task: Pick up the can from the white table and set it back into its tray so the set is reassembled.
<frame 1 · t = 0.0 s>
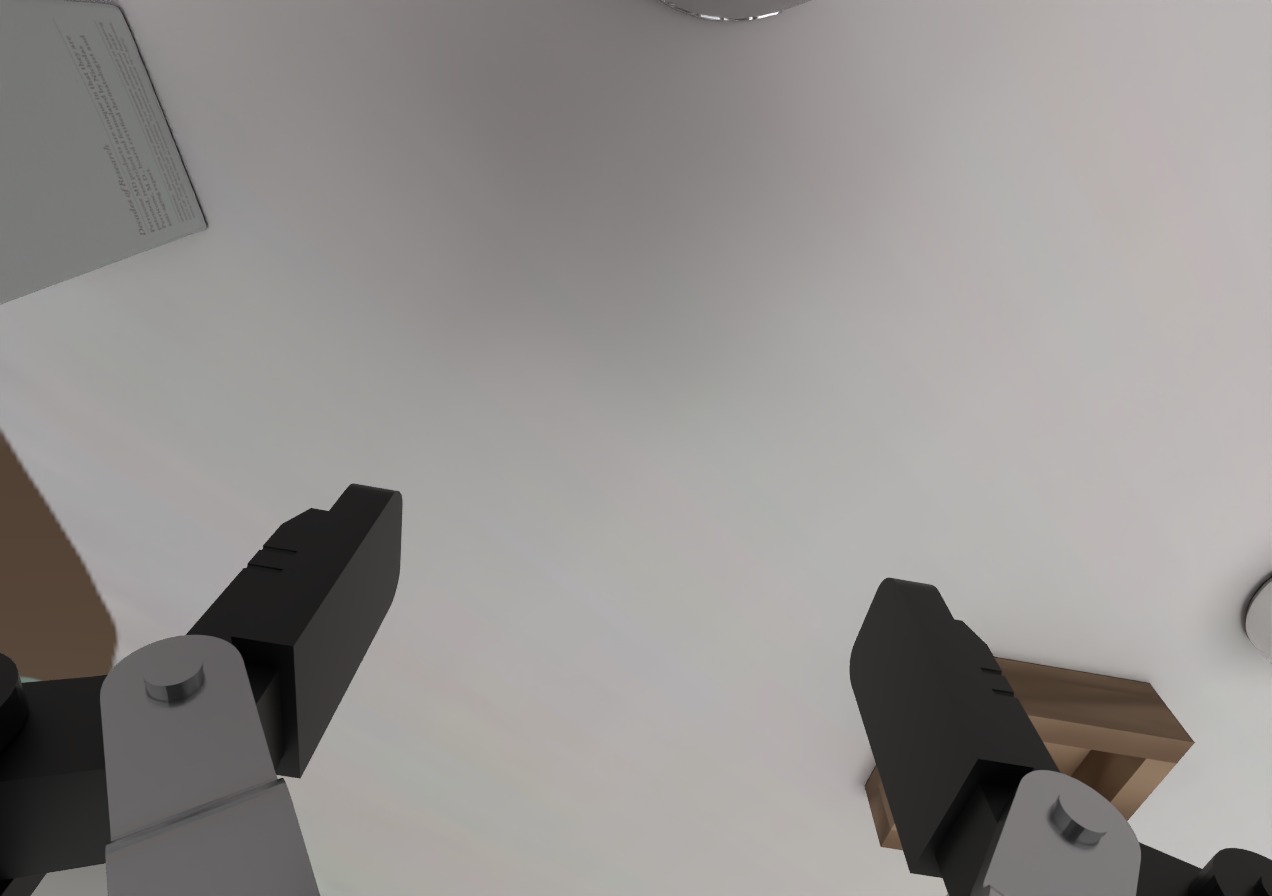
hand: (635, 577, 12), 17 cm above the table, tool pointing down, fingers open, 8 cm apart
tray: (998, 738, 38), on the table
supplement box: (78, 135, 25), on the table
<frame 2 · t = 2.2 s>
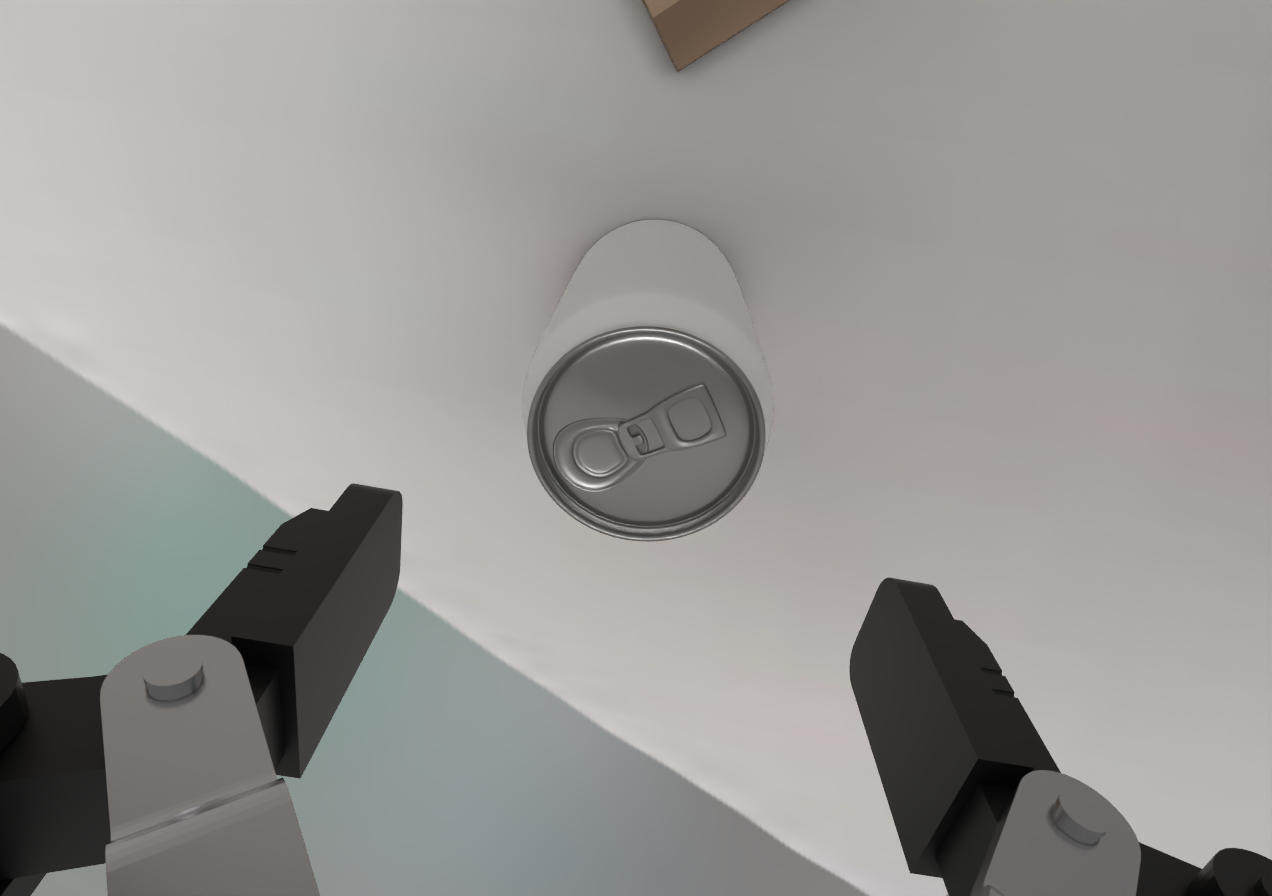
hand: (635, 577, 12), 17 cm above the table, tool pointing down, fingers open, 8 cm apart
can: (654, 302, 27), on the table
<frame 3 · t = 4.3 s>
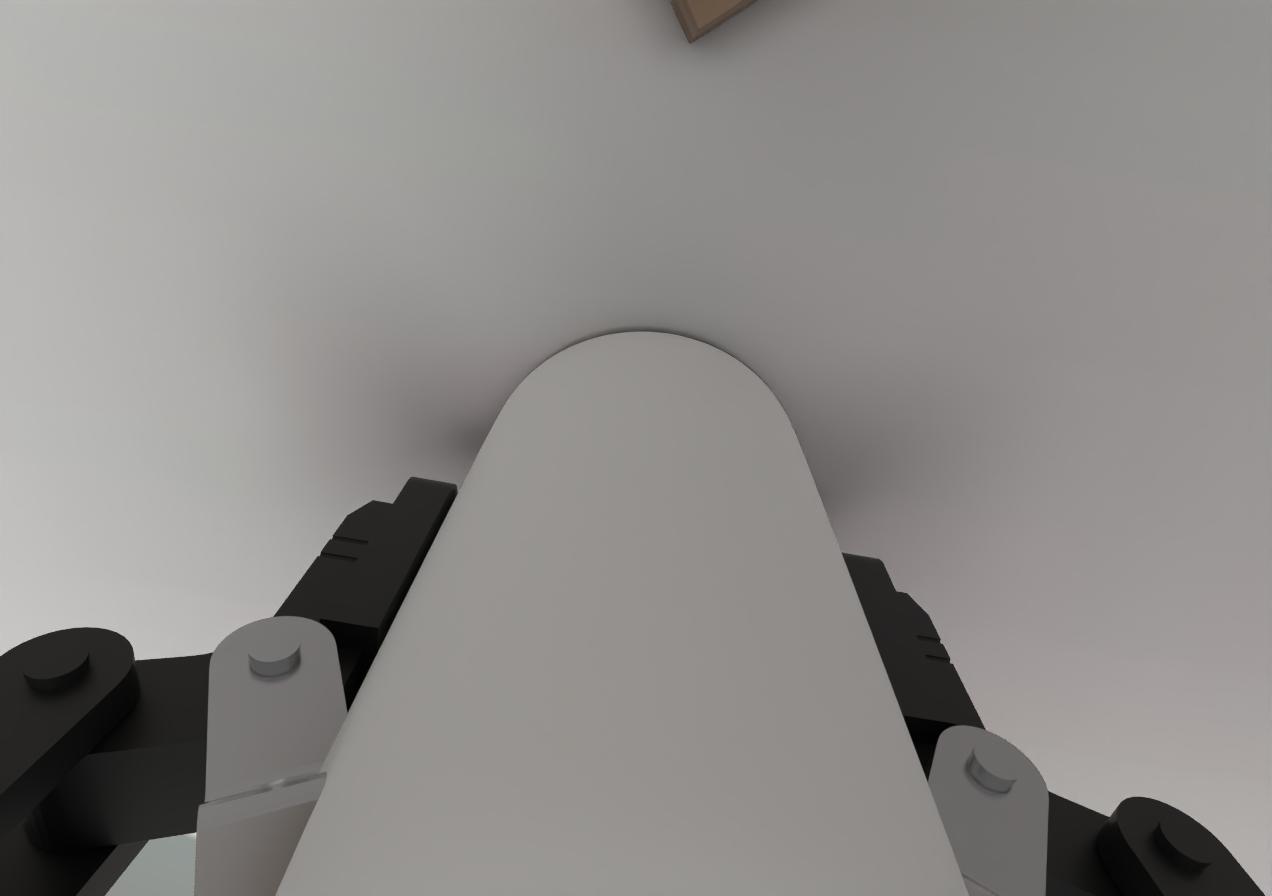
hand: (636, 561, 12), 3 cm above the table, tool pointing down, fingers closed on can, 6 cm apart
can: (643, 466, 15), on the table, touching gripper
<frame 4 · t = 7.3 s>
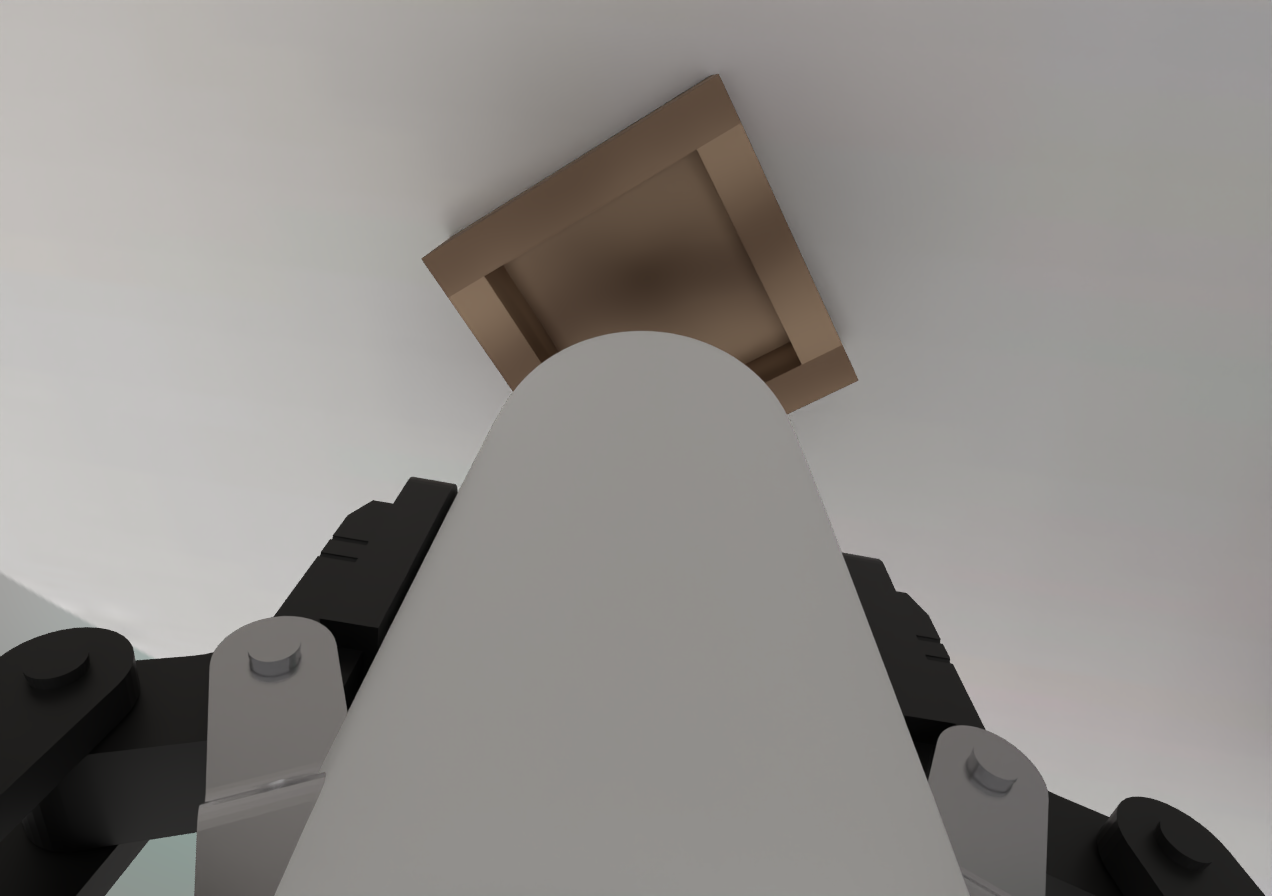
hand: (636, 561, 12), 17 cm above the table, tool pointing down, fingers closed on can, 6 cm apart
tray: (648, 294, 27), on the table
can: (643, 465, 15), point 14 cm above the table, touching gripper
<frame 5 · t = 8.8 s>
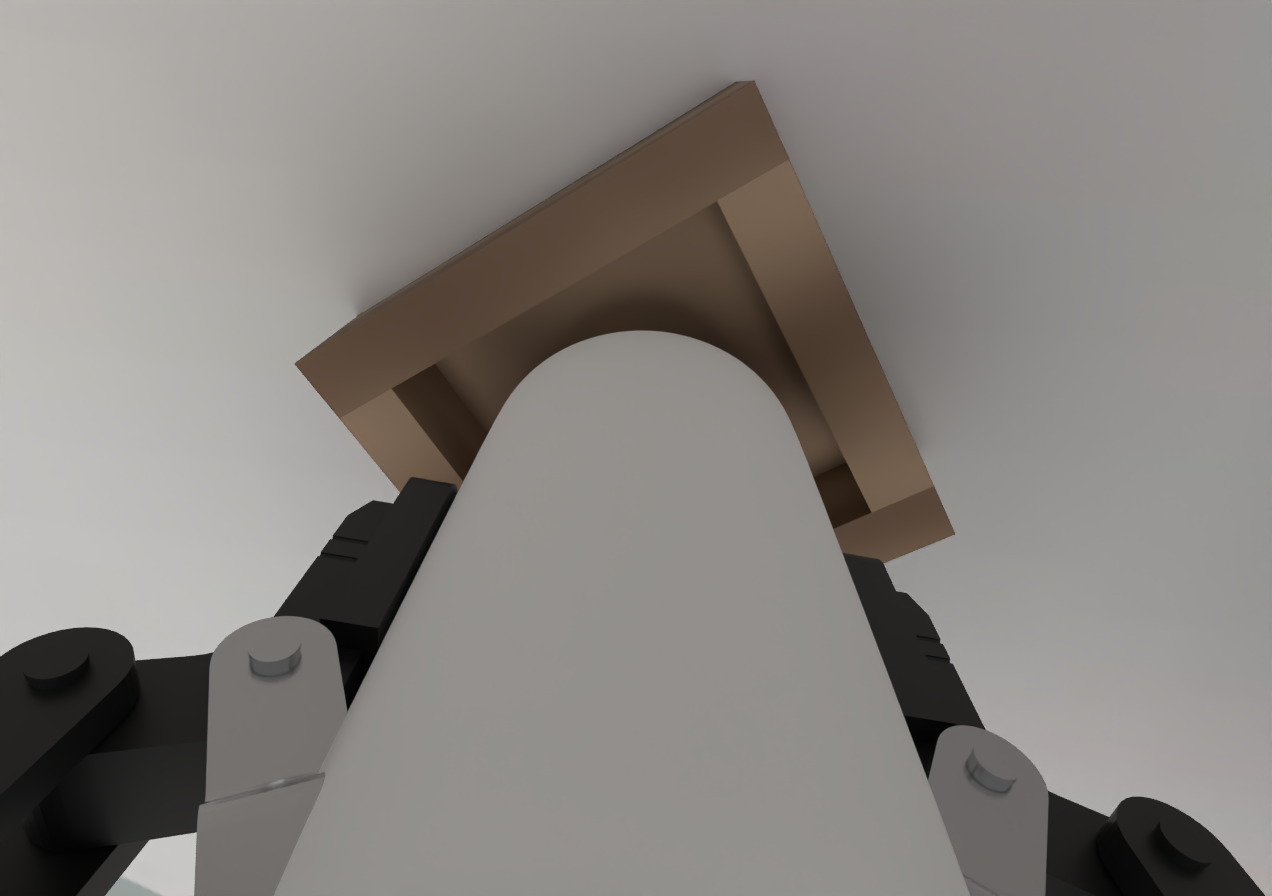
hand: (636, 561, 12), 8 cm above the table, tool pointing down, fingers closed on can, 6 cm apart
tray: (643, 393, 19), on the table
can: (643, 465, 15), point 4 cm above the table, touching gripper
when the fingers open (6 cm above the table, at t = 10.3 s): can drops 1 cm, resting on tray.
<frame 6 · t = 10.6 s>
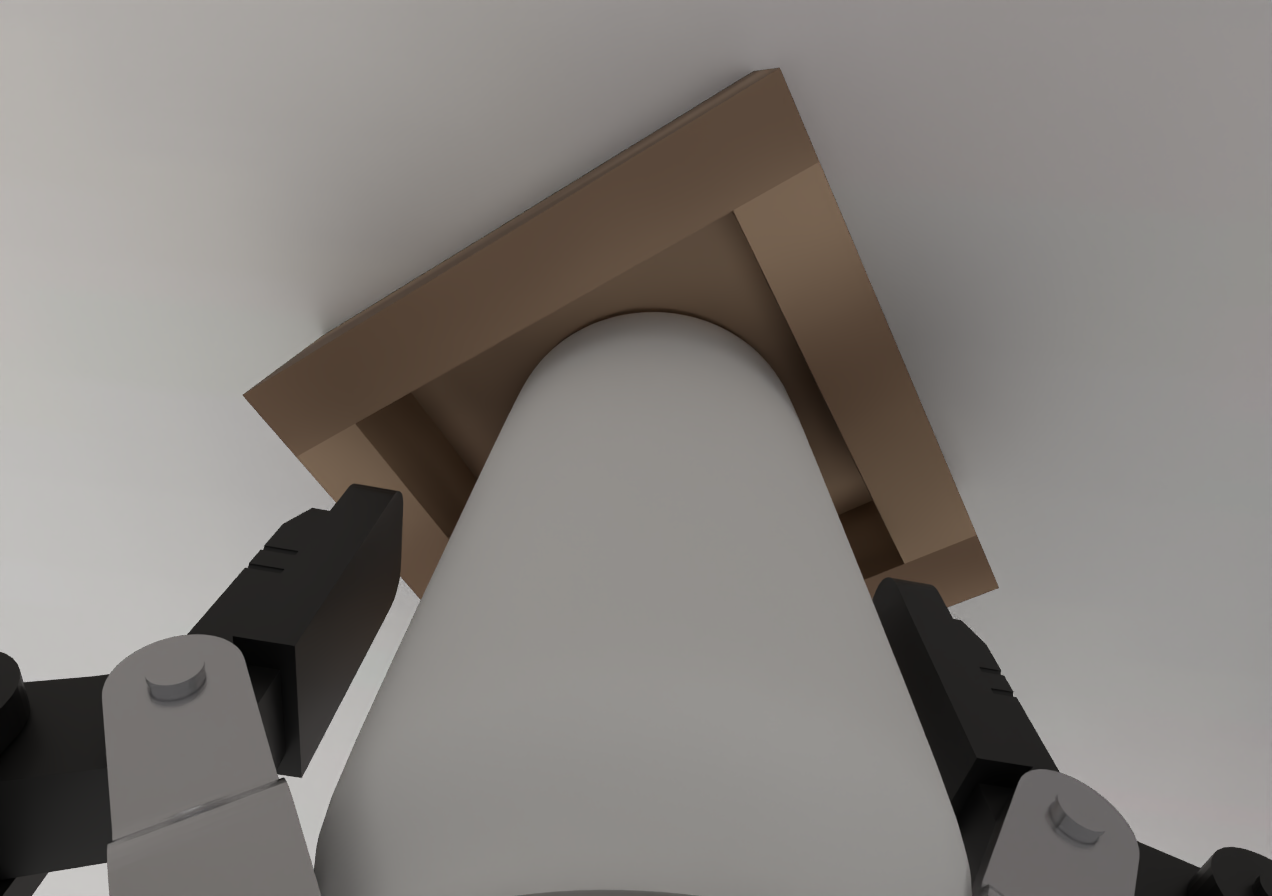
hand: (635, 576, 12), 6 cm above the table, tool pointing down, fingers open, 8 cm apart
tray: (644, 421, 17), on the table
can: (653, 438, 16), point 1 cm above the table, touching tray
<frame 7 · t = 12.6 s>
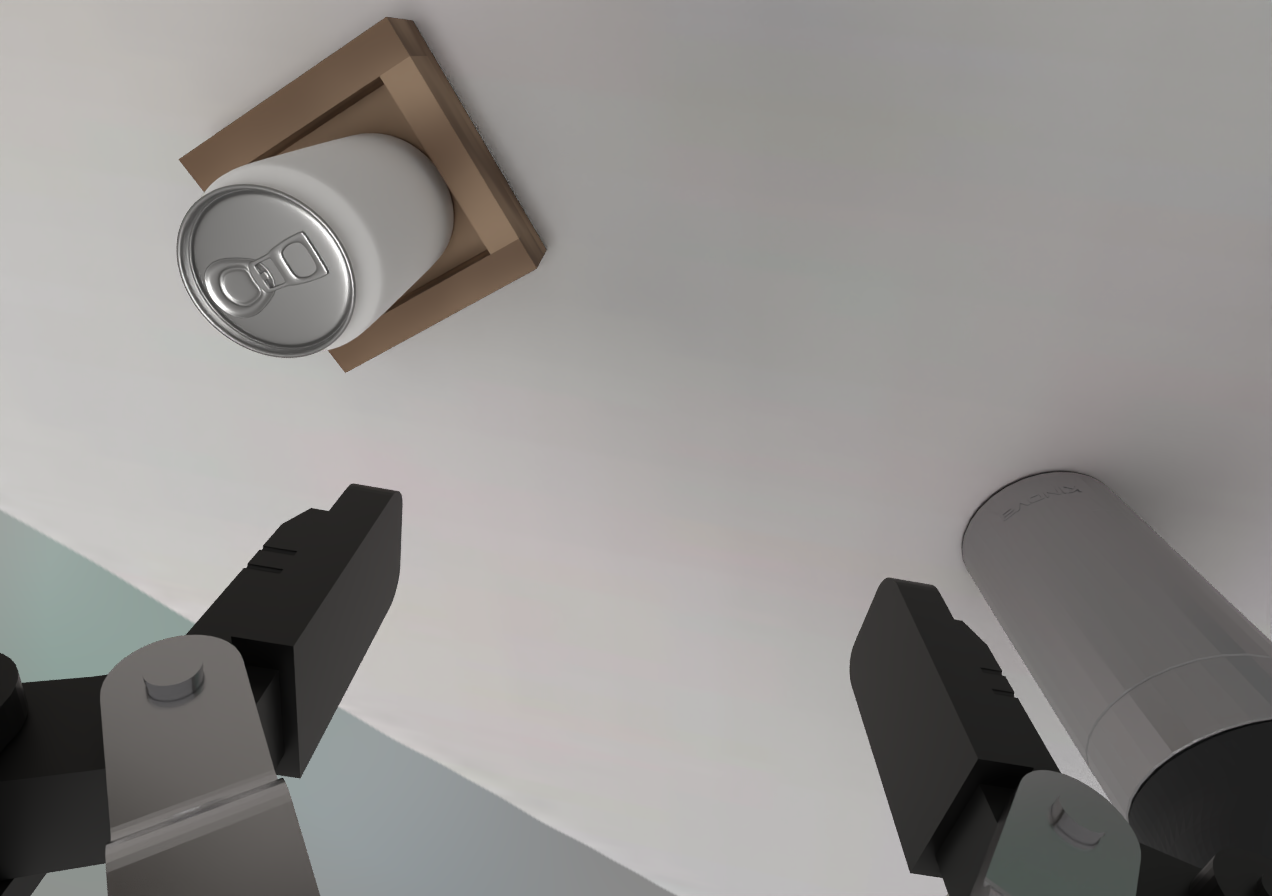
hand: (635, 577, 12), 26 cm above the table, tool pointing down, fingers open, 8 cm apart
tray: (389, 201, 34), on the table
can: (388, 205, 33), point 1 cm above the table, touching tray
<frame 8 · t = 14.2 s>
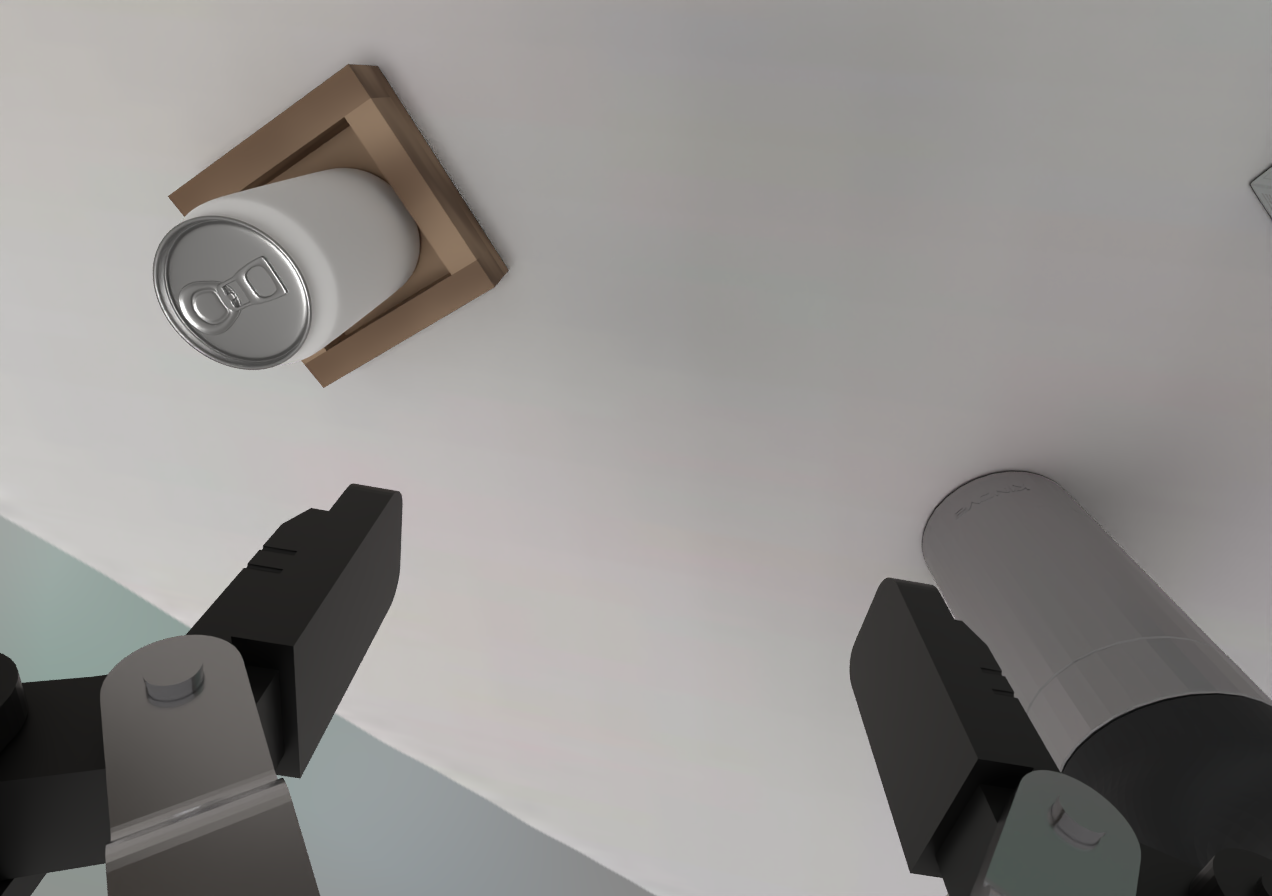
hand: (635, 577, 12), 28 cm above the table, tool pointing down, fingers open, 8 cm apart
tray: (362, 229, 37), on the table
can: (361, 233, 36), point 1 cm above the table, touching tray
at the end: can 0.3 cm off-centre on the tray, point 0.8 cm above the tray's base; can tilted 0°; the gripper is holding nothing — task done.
